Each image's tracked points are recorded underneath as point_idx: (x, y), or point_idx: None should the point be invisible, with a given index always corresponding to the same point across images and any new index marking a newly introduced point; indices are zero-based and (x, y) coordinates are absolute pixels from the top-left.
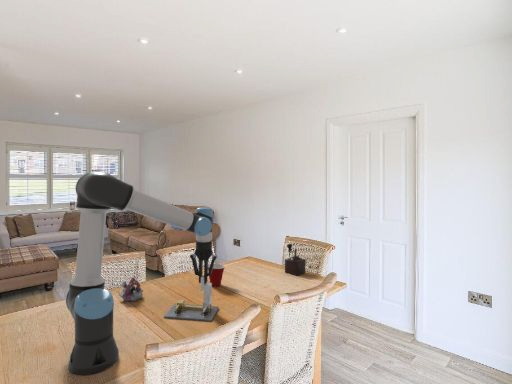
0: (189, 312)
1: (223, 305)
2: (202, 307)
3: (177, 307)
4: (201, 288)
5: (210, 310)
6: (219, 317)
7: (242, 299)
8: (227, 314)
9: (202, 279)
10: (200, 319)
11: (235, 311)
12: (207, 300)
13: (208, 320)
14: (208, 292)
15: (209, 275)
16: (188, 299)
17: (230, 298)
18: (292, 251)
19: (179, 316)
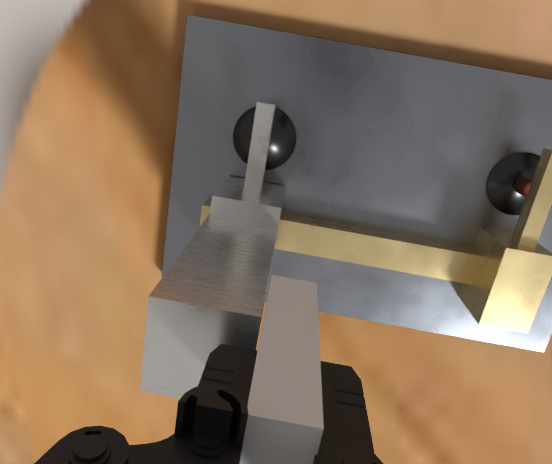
0: (406, 173)
1: (135, 327)
2: (293, 229)
3: (545, 173)
4: (303, 295)
5: None
6: (133, 103)
7: (7, 422)
8: (75, 161)
9: (284, 386)
10: (293, 35)
11: (20, 217)
12: (233, 222)
13: (218, 21)
14: (204, 255)
15: (83, 433)
16: (428, 438)
17: None
18: None
19: (496, 86)
